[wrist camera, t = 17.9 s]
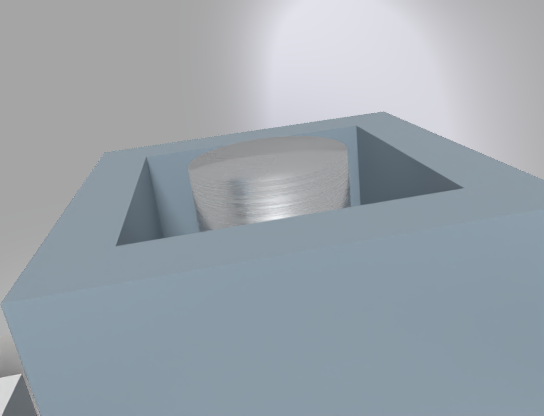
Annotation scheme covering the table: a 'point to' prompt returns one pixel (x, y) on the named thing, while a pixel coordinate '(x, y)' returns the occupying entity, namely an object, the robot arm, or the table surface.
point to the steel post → (269, 180)
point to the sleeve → (293, 289)
